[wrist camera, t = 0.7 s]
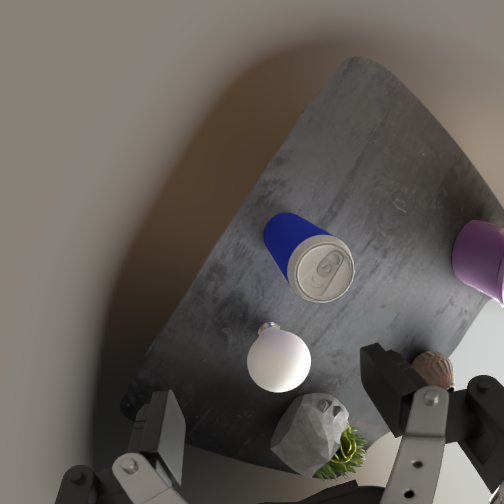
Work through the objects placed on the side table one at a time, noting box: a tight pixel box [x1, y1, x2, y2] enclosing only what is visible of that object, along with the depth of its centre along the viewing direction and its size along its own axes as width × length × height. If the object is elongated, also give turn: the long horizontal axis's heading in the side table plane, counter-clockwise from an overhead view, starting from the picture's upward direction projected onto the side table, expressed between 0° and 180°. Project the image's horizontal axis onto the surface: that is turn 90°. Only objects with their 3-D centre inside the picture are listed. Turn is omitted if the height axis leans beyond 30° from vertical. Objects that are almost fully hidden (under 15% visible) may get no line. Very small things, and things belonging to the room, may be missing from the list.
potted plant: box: [270, 393, 368, 481], centre depth 39 cm, size 12×13×15 cm
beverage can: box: [264, 213, 354, 303], centre depth 30 cm, size 5×5×15 cm
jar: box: [452, 220, 504, 308], centre depth 35 cm, size 11×11×12 cm
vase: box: [411, 351, 456, 392], centre depth 40 cm, size 7×7×9 cm
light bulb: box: [247, 322, 311, 392], centre depth 34 cm, size 7×7×11 cm
